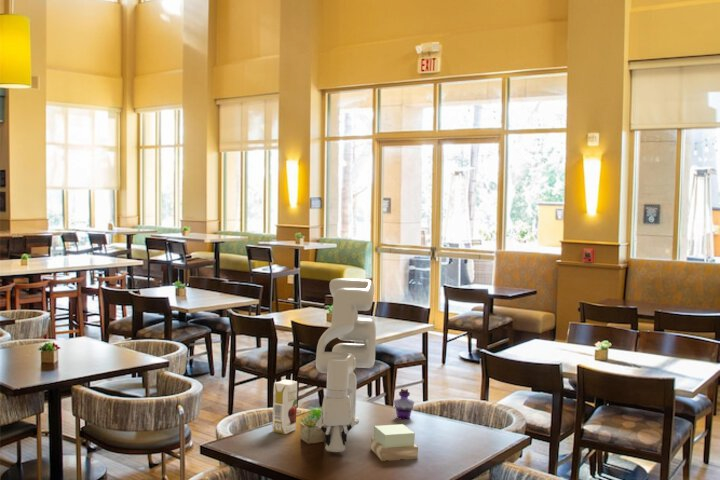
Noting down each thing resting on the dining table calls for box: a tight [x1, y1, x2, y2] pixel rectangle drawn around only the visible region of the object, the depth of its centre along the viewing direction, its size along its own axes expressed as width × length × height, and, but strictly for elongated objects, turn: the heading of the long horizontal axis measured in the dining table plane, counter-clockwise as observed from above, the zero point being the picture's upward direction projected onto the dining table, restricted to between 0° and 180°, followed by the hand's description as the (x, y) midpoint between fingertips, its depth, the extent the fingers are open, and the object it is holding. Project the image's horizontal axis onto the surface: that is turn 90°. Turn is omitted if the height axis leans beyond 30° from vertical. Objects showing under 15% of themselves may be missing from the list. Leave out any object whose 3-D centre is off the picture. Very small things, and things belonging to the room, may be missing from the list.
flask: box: [325, 426, 346, 453], centre depth 257 cm, size 7×7×10 cm
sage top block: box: [373, 423, 416, 448], centre depth 260 cm, size 11×11×4 cm
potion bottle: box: [393, 388, 415, 420], centre depth 306 cm, size 9×9×12 cm
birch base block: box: [370, 437, 419, 462], centre depth 260 cm, size 13×13×4 cm
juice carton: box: [272, 378, 298, 435], centre depth 281 cm, size 8×9×19 cm
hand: (335, 443), depth 257 cm, fingers closed on flask, 4 cm apart
